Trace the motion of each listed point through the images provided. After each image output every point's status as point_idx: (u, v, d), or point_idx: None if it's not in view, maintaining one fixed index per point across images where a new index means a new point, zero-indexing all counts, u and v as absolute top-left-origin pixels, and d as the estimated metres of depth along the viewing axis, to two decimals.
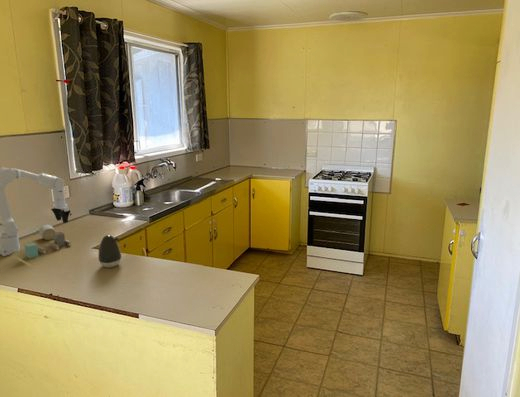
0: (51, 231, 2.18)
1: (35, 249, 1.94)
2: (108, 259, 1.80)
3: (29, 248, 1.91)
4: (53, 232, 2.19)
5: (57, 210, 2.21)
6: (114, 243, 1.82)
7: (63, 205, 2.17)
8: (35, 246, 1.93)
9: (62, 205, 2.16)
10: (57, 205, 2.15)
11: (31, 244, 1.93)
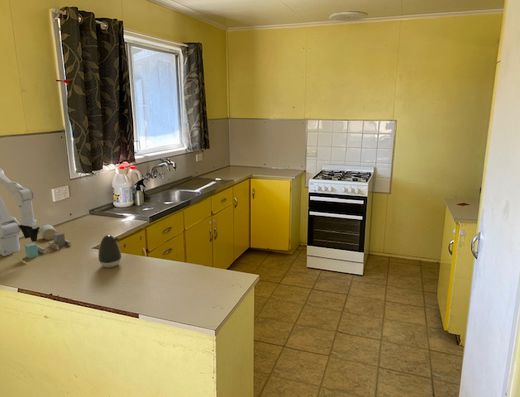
0: (51, 231, 2.18)
1: (35, 249, 1.94)
2: (108, 259, 1.80)
3: (29, 248, 1.91)
4: (53, 232, 2.19)
5: (25, 227, 1.94)
6: (114, 243, 1.82)
7: (31, 221, 1.90)
8: (35, 246, 1.93)
9: (30, 221, 1.89)
10: (24, 221, 1.88)
11: (31, 244, 1.93)
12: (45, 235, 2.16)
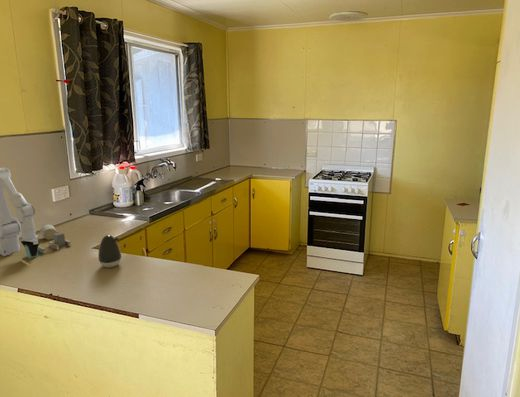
0: (52, 231, 2.18)
1: None
2: (108, 259, 1.80)
3: None
4: (54, 232, 2.19)
5: (28, 242, 1.94)
6: (114, 243, 1.82)
7: (32, 237, 1.91)
8: None
9: (31, 237, 1.90)
10: (25, 237, 1.89)
11: None
12: (46, 235, 2.17)
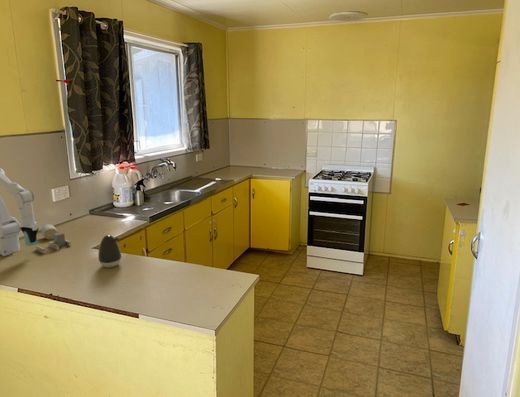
0: (53, 231, 2.19)
1: None
2: (108, 259, 1.80)
3: None
4: (55, 232, 2.19)
5: (27, 229, 1.93)
6: (114, 243, 1.82)
7: (31, 223, 1.90)
8: None
9: (30, 223, 1.89)
10: (24, 223, 1.88)
11: None
12: (46, 235, 2.17)
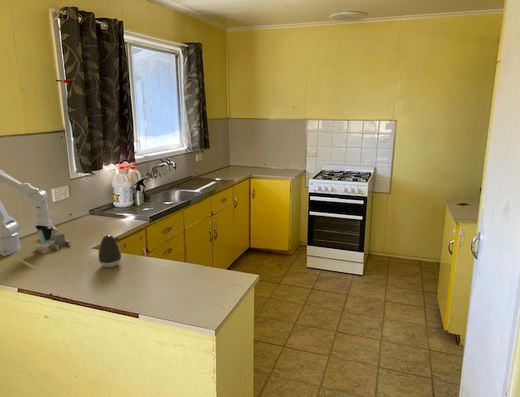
0: (53, 231, 2.19)
1: None
2: (108, 259, 1.80)
3: None
4: (55, 232, 2.20)
5: (42, 227, 2.01)
6: (114, 243, 1.82)
7: (46, 221, 1.98)
8: None
9: (45, 222, 1.98)
10: (40, 222, 1.97)
11: None
12: None
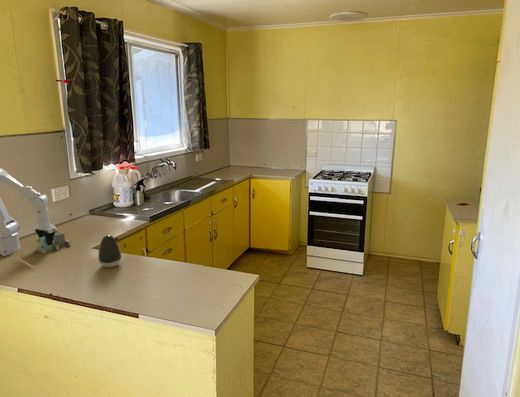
0: (54, 230, 2.19)
1: None
2: (108, 259, 1.80)
3: (44, 240, 1.99)
4: (56, 231, 2.20)
5: (41, 231, 2.03)
6: (114, 243, 1.82)
7: (47, 226, 1.99)
8: None
9: (46, 226, 1.98)
10: (40, 226, 1.97)
11: None
12: None
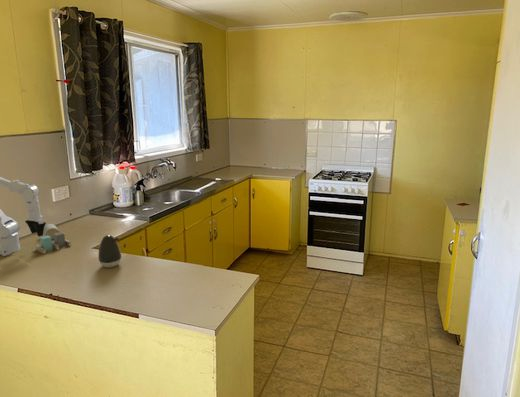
0: (54, 230, 2.19)
1: (50, 241, 2.02)
2: (108, 259, 1.80)
3: (44, 240, 1.99)
4: (56, 231, 2.20)
5: (32, 222, 2.01)
6: (114, 243, 1.82)
7: (38, 217, 1.97)
8: (50, 238, 2.01)
9: (36, 217, 1.97)
10: (31, 217, 1.96)
11: (46, 237, 2.02)
12: (48, 234, 2.17)
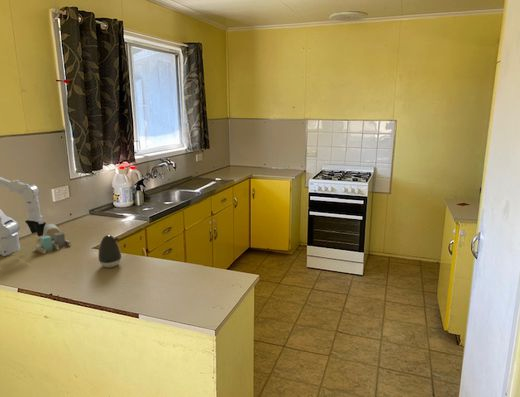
0: (55, 230, 2.19)
1: (50, 241, 2.02)
2: (108, 259, 1.80)
3: (44, 240, 1.99)
4: (57, 231, 2.20)
5: (32, 222, 2.01)
6: (114, 243, 1.82)
7: (38, 217, 1.97)
8: (50, 238, 2.01)
9: (36, 217, 1.97)
10: (31, 217, 1.96)
11: (46, 237, 2.02)
12: (48, 234, 2.18)
